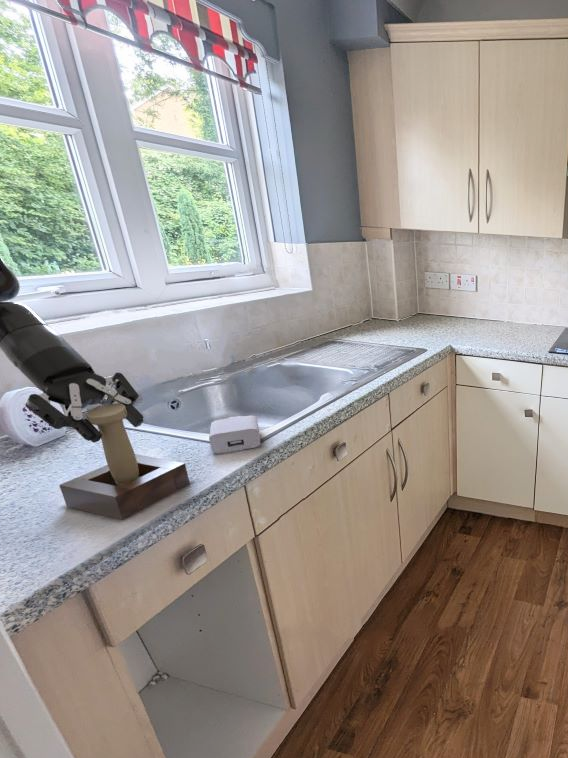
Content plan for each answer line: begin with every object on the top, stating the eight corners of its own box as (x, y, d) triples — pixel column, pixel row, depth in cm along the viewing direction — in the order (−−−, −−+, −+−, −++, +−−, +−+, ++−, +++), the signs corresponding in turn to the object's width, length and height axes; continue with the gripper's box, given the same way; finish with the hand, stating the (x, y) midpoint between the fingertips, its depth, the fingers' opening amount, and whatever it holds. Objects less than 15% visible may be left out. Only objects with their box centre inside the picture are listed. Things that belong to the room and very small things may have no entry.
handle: (107, 497, 79) (81, 419, 74) (117, 480, 84) (93, 405, 79) (142, 491, 82) (119, 415, 76) (149, 474, 87) (128, 402, 81)
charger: (258, 423, 116) (260, 446, 104) (215, 429, 111) (212, 454, 99) (255, 406, 114) (257, 427, 102) (211, 411, 109) (208, 435, 97)
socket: (122, 519, 77) (115, 496, 75) (66, 507, 79) (58, 484, 78) (190, 483, 88) (185, 463, 86) (139, 473, 90) (133, 453, 89)
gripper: (-4, 355, 69) (79, 436, 71) (101, 336, 82) (168, 405, 84) (-15, 383, 72) (64, 461, 74) (87, 361, 85) (153, 427, 87)
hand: (119, 431), depth 79 cm, fingers closed on handle, 6 cm apart
